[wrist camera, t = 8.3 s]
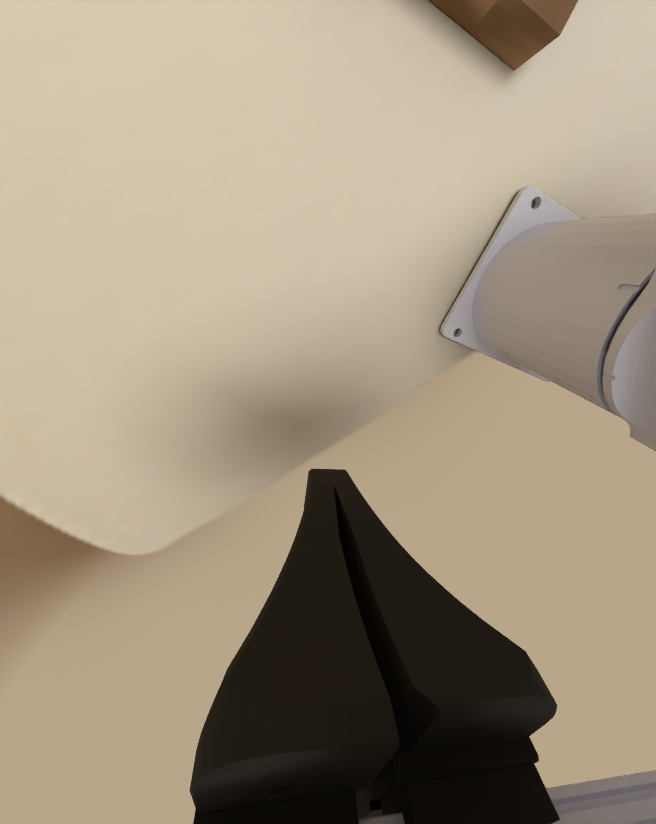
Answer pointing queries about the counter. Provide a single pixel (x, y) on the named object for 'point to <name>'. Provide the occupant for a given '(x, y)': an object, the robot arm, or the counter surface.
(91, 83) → the counter surface
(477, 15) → the keypad board
